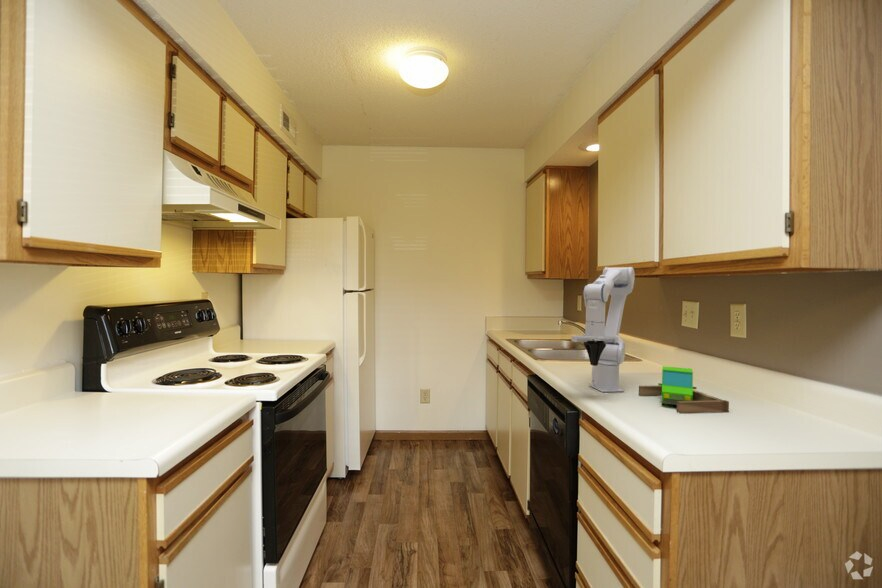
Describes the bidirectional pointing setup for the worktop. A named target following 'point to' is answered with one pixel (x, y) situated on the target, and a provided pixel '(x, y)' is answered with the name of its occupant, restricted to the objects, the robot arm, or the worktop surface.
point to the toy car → (676, 385)
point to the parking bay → (697, 404)
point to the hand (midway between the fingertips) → (593, 365)
